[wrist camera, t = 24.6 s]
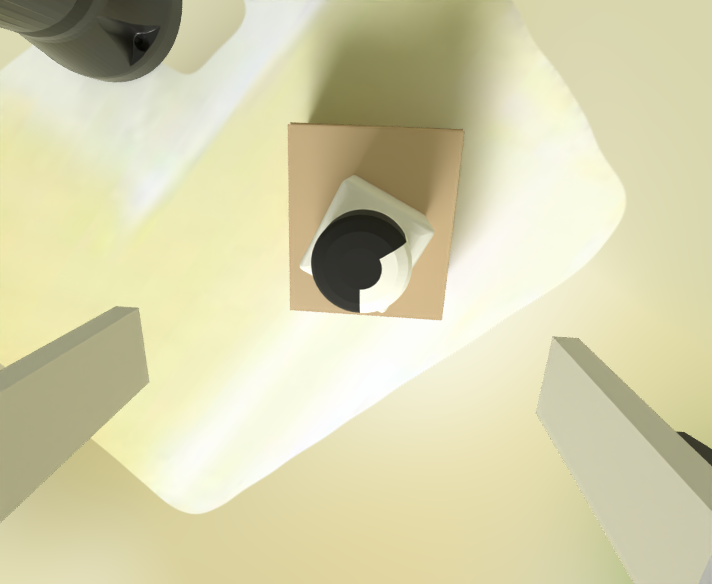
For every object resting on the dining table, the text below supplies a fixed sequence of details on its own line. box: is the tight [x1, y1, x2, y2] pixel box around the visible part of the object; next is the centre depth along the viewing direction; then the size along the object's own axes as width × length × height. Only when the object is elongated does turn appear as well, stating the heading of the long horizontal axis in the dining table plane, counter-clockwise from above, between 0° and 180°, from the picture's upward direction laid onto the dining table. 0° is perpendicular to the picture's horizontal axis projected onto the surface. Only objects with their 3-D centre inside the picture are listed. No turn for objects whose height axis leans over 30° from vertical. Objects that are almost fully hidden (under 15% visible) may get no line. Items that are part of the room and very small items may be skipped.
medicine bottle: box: [300, 175, 434, 313], centre depth 29 cm, size 7×7×12 cm
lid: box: [288, 124, 465, 320], centre depth 35 cm, size 16×14×1 cm
